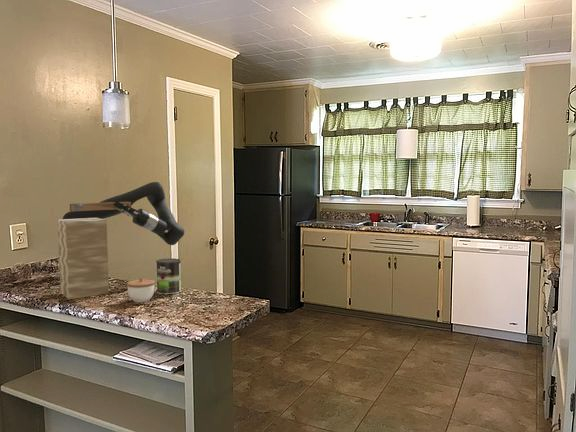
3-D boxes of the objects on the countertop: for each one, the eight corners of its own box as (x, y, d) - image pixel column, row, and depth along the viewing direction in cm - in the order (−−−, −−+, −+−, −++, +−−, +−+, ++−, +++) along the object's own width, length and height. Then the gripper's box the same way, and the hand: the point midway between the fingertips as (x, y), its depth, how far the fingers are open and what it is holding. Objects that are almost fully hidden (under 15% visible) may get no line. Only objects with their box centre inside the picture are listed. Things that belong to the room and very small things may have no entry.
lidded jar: (138, 296, 197) (138, 274, 197) (160, 298, 194) (159, 276, 193) (121, 302, 187) (121, 279, 187) (144, 305, 184) (143, 281, 183)
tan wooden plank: (69, 210, 200) (69, 203, 199) (127, 208, 215) (127, 201, 215) (72, 211, 196) (72, 204, 196) (131, 208, 212) (131, 202, 211)
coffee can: (173, 295, 198) (172, 263, 197) (152, 294, 201) (151, 261, 200) (185, 290, 208) (185, 258, 207) (165, 288, 211) (164, 257, 210)
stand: (60, 292, 204) (57, 219, 201) (98, 287, 214) (96, 217, 211) (69, 299, 193) (66, 221, 190) (108, 293, 203) (106, 219, 200)
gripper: (143, 211, 225) (111, 194, 215) (155, 213, 214) (122, 195, 204) (135, 225, 223) (103, 209, 213) (148, 228, 212) (114, 211, 202)
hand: (113, 202), depth 209 cm, fingers closed on tan wooden plank, 4 cm apart
